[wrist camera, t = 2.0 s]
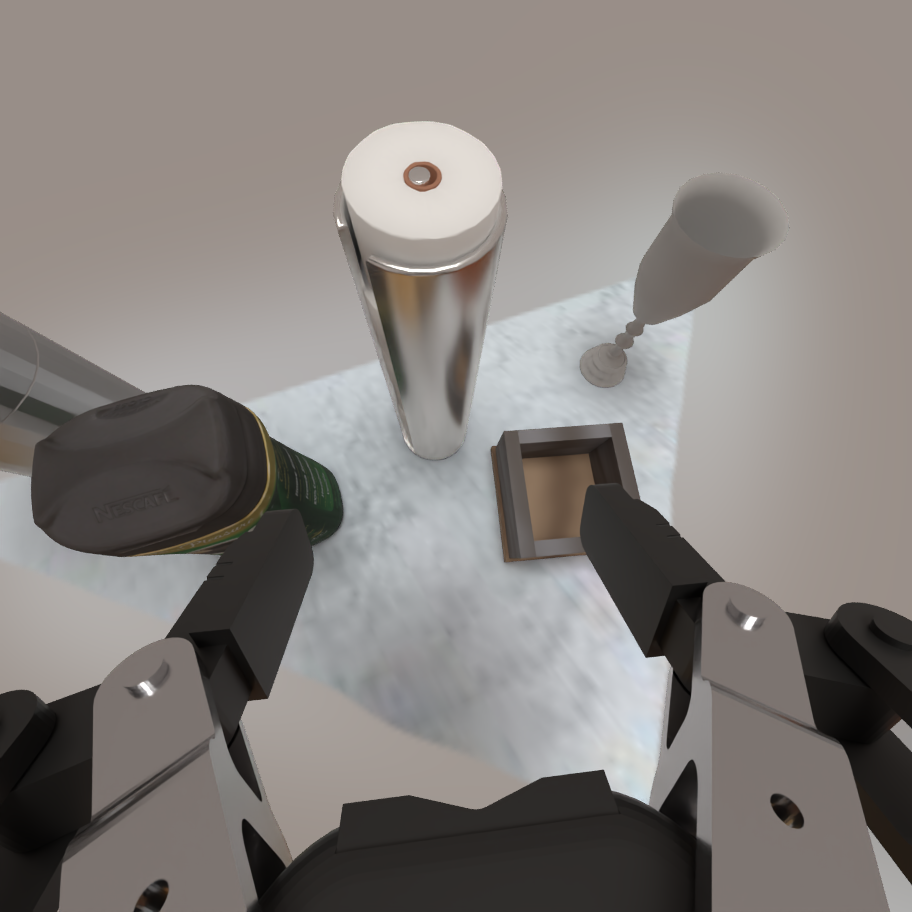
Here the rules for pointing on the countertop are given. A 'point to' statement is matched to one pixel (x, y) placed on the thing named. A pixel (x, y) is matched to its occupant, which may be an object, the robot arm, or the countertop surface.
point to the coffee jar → (172, 477)
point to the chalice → (694, 258)
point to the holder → (554, 485)
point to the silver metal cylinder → (424, 268)
